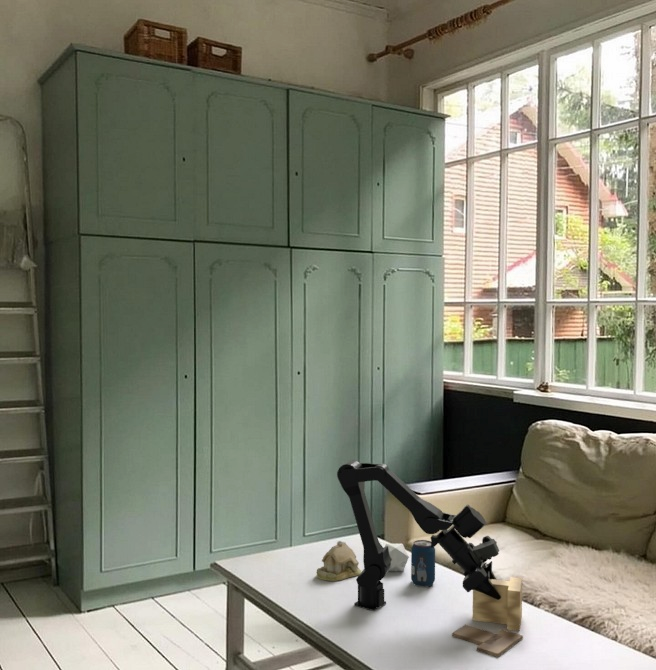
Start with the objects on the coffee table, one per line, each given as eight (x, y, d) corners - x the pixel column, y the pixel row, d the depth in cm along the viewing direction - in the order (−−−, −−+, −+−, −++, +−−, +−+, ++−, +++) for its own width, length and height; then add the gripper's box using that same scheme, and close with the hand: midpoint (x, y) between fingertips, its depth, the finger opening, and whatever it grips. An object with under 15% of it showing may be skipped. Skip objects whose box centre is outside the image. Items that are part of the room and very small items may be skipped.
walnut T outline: (445, 640, 187) (445, 637, 187) (471, 623, 197) (471, 620, 197) (498, 657, 178) (498, 653, 178) (522, 638, 188) (522, 635, 188)
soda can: (428, 578, 230) (428, 538, 229) (439, 586, 223) (439, 545, 223) (407, 580, 228) (407, 540, 227) (417, 588, 221) (417, 547, 221)
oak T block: (471, 624, 196) (471, 586, 196) (475, 610, 206) (476, 573, 205) (519, 630, 192) (520, 591, 192) (521, 615, 202) (522, 578, 202)
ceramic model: (337, 564, 242) (337, 533, 242) (367, 571, 236) (367, 539, 235) (310, 577, 231) (310, 544, 230) (340, 585, 224) (341, 551, 224)
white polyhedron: (400, 578, 231) (416, 550, 234) (375, 563, 233) (391, 535, 235) (397, 579, 239) (412, 551, 242) (373, 564, 240) (389, 537, 243)
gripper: (476, 539, 191) (521, 588, 188) (484, 519, 208) (525, 564, 206) (444, 567, 193) (488, 616, 190) (454, 545, 211) (495, 590, 208)
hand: (500, 595), depth 199 cm, fingers open, 4 cm apart
